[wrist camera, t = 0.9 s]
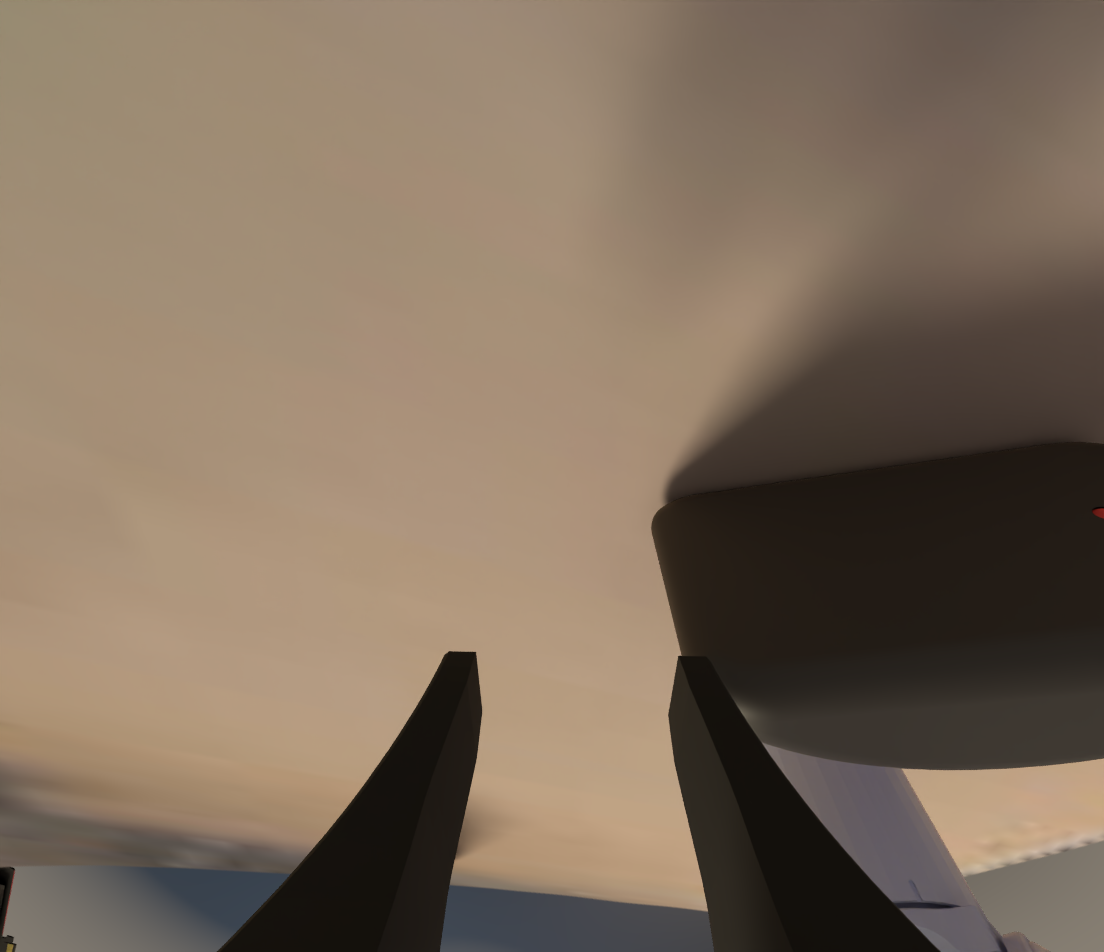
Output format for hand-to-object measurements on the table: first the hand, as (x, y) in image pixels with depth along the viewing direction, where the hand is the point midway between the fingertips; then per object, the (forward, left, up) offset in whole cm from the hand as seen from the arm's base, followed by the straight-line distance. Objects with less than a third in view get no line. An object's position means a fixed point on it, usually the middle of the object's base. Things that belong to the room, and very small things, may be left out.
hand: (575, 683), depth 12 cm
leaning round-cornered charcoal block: (0, -11, -10) cm, 15 cm away
